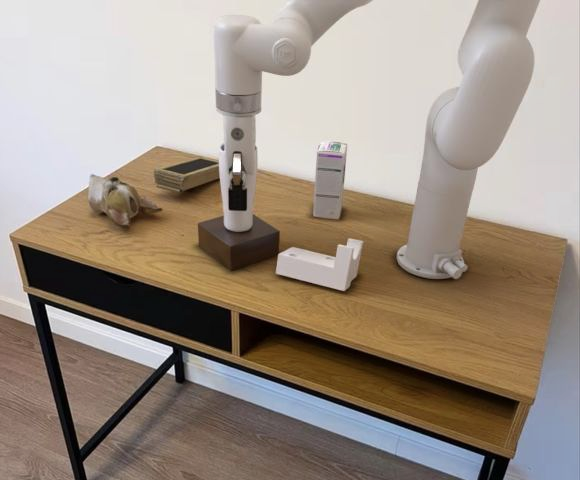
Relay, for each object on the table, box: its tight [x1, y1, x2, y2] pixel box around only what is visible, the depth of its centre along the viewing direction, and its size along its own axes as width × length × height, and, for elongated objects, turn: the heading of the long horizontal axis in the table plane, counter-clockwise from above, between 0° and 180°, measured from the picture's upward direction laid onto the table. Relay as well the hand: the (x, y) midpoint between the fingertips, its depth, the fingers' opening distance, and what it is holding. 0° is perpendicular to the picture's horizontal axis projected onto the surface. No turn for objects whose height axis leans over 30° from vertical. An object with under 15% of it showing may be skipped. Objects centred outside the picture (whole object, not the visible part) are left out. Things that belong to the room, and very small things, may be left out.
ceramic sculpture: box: [87, 173, 164, 228], centre depth 127 cm, size 11×9×15 cm
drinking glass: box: [218, 142, 259, 232], centre depth 114 cm, size 7×7×15 cm
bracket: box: [275, 237, 364, 292], centre depth 113 cm, size 13×7×8 cm, turn 67°
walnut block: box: [197, 213, 281, 272], centre depth 120 cm, size 11×11×5 cm
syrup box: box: [312, 140, 348, 220], centre depth 132 cm, size 6×6×14 cm
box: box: [153, 155, 220, 194], centre depth 144 cm, size 8×22×5 cm, turn 156°
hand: (238, 198), depth 115 cm, fingers open, 9 cm apart
